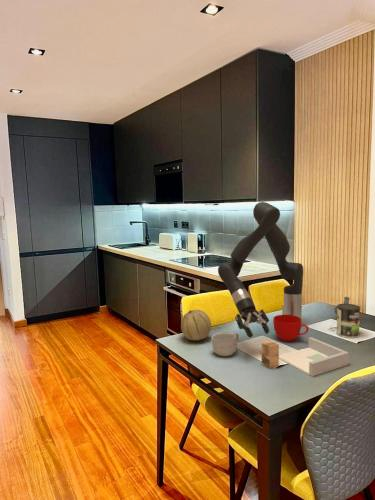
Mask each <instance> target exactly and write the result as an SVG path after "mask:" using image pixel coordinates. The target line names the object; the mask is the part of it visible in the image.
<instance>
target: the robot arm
mask: <svg viewBox="0 0 375 500" xmlns="http://www.w3.org/2000/svg"><path fill="white" fill-rule="evenodd" d="M252 212H253V218H254V220H255V221H256V223H257V224H258V226H257V227H256V228H255V230H253V231H252V232H251V233H249V234H248V235H246V236H245V237H243V238H242V239H241V240H240V241H239V242H238V243H237V244H236V246H235V247H234V248H233V250H232V251H231V253H230V258H231V261H230V263H228V262H222V263H220V264H219V265H218V267H217V273H218V276H219V278H220V280H221V281H222V282H223V284H224V285H225V286H226V288H227V289H228V292H229V293H230V296H231V298H232V301H233V304H234V305H235V307H236V310H237V311H238V312H237V314H236V315H235V317H234V319H235V321H236V324H237V326H238V328H239V330H243V331H245V334H246V336H247V337H248V338H253V336H254V334H253V332H252V330H251V328H250V327H249V324H252V323H254V324H255V323H256V324H259V325H261V327H262V329H263V331H264V333H265V335H268V334H269V333H270V328H269V326H268V323H269V322H270V319H269V318H268V316H267V314H266V312H265V311H264V309H260V310H259V311H258V310H257V308H256V305H255V302H254V301H253V299H252V297H251V296H250V294H249V292H248V291H247V289H246V287H245V285H244V284H243V281H242V280H241V279H239V278H238V276H239V275H240V274H241V272H242V271H241V270H242V268H243V266H244V262H245V261H246V260H247V258H248V257H249V255H250V254H251V252H252V251H253V249H255V247H256V246H257V245H258V243H260V241H262V239H264V238H265V240H266V242H267V244H268V246H269V248H270V252H271V253H272V255H273V257H274V260H275V262H276V264H277V268H278V271H279V274H280V276H281V278H282V279H284V280H289V281H293V284H290V285H287V286H284V287H283V305H282V306H281V307H282V312H281V313H282V314H281V315H294V316H298V317H300V318H301V320H302V318H303V316H302V314H303V311H302V308H303V306H302V305H303V298H302V297H303V296H302V295H303V281H304V266H303V264H302V263H300V262H291V261H290V262H289V261H288V260H287V256H288V255H289V253H290V250H291V249H290V248H291V245H290V243H289V240H288V238H287V235H285V233H284V232H283V230H282V229H281V228H280V227H279V226H278V225H277V223H278V221H279V219H280V216H281V210H279V208H278V207H276V206H275V205H272V204H270V203H268V202H266V201H260V202H257V204H255V205H254V208H253V211H252ZM243 320H244V321H243ZM302 322H303V320H302V321H301V325H302Z"/></svg>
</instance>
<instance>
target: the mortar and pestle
mask: <svg viewBox="0 0 375 500" xmlns="http://www.w3.org/2000/svg"><path fill="white" fill-rule="evenodd" d="M343 299H344V300H343V304H350V303H349V302H350V300H351V299H350V297H348V296H344V297H343ZM334 314H335V315H336V316H337V305H336V306H334Z"/></svg>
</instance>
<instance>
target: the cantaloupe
mask: <svg viewBox="0 0 375 500" xmlns="http://www.w3.org/2000/svg"><path fill="white" fill-rule="evenodd" d="M180 329H181V332H182V334H183V335H184V336H185V338H187V339H188V340H191V341H201V340H204V339H205V338H206V337H208V335H210V332H211V330H212V321H211V319H210V317H209V315H208V314H207V313H206V312H205V311H203V310H201V309H192V310H191V309H190V310H189V311H187V312H186V313H185V314H184V315H183V316H182V319H181V321H180Z"/></svg>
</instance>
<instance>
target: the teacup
mask: <svg viewBox="0 0 375 500" xmlns="http://www.w3.org/2000/svg"><path fill="white" fill-rule="evenodd" d="M239 338H240V335H239V333H237V332H234V333H232V332H219V333H215V334H212V336H211V343H212V350H213V351H214V353H215V354H216V355H218V356H220V357H230V356H232V355H233V354H234V353H235V352H236V351H237V348H238V347H237V343H238V341H239Z"/></svg>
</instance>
